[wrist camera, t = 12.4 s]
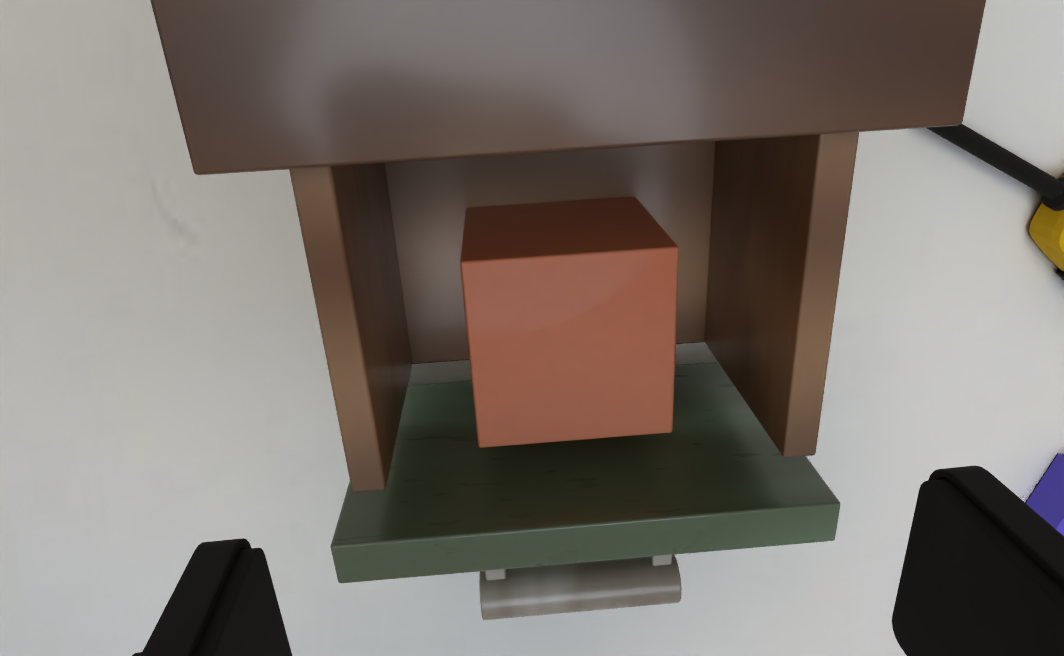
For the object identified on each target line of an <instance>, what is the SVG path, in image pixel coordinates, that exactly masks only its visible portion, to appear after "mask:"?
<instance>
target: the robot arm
mask: <svg viewBox="0 0 1064 656" xmlns="http://www.w3.org/2000/svg"><path fill="white" fill-rule="evenodd" d="M892 626H893V631H894V634H895V637H896V639H897V641H898V643H899V645H900V647H901V648H902V649H903V651H904V652H905V654H906V655H907V656H1064V536H1063V535H1062V534H1061V533H1059V532H1058V531H1057V530H1056V529H1055V528H1054V527H1052V526H1051V525H1050V524H1049V523H1048V522H1047V521H1045V520H1044V519H1043V518H1042V517H1041V516H1040V515H1038V514H1037V513H1036V512H1035V511H1034V510H1033V509H1031V508H1030V507H1029V506H1028V505H1027V504H1026V503H1024V502H1023V501H1022V500H1021V499H1020V498H1019V497H1018V496H1016V495H1015V494H1014V493H1013V492H1012V491H1011V490H1009V489H1008V488H1007V487H1006V486H1005V485H1004V484H1002V483H1001V482H1000V481H999V480H998V479H997V478H995V477H994V476H993V475H992V474H991V473H990V472H988V471H987V470H985V469H984V468H982V467H979V466H967V467H957V468H947V469H939V470H935V471H934V472H933V473H932V474H931V475H930V478H929V480H928V481H925V482H923V484H922V485H921V487H920V489H919V494H918V498H917V503H916V508H915V513H914V517H913V522H912V527H911V531H910V536H909V541H908V545H907V550H906V555H905V559H904V564H903V569H902V574H901V578H900V583H899V588H898V592H897V597H896V602H895V606H894V611H893V616H892ZM132 656H292V653H291V650H290V646H289V642H288V638H287V635H286V631H285V627H284V624H283V620H282V616H281V613H280V609H279V605H278V601H277V598H276V594H275V590H274V587H273V583H272V579H271V576H270V572H269V568H268V564H267V561H266V557H265V554H264V551H263V550H262V549H261V548H253V549H252V548H251V546H250V543H249V542H248V541H247V540H246V539H233V540H223V541H213V542H203V543H201V544H200V545H198V547H197V548H196V550H195V551H194V553H193V555H192V557H191V559H190V561H189V563H188V565H187V567H186V569H185V571H184V572H183V574H182V576H181V578H180V580H179V582H178V584H177V586H176V588H175V590H174V592H173V594H172V596H171V598H170V600H169V602H168V604H167V605H166V607H165V609H164V611H163V613H162V615H161V617H160V619H159V621H158V623H157V625H156V627H155V629H154V631H153V633H152V635H151V637H150V638H149V640H148V642H147V644H146V646H145V648H144V650H143V652H140V653H135V654H134V655H132Z"/></svg>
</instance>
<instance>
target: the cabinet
mask: <svg viewBox="0 0 1064 656" xmlns="http://www.w3.org/2000/svg"><path fill="white" fill-rule="evenodd" d="M985 2H986V0H151V4H152V8H153V12H154V16H155V20H156V23H157V27H158V31H159V35H160V39H161V43H162V47H163V51H164V55H165V59H166V63H167V67H168V71H169V75H170V79H171V83H172V87H173V91H174V95H175V99H176V103H177V107H178V111H179V115H180V119H181V123H182V127H183V131H184V135H185V139H186V143H187V147H188V150H189V154H190V158H191V162H192V166H193V170H194V173H195V174H197V175H208V174H224V173H239V172H254V171H269V170H285V169H300V168H315V167H330V166H346V165H361V164H376V163H391V162H407V161H422V160H437V159H453V158H468V157H483V156H498V155H514V154H529V153H544V152H559V151H575V150H590V149H605V148H620V147H636V146H651V145H666V144H682V143H697V142H712V141H727V140H743V139H758V138H773V137H788V136H804V135H819V134H834V133H849V132H865V131H880V130H895V129H911V128H926V127H941V126H956V125H959V124H961V123H962V121H963V116H964V111H965V105H966V100H967V95H968V90H969V85H970V80H971V75H972V69H973V64H974V59H975V54H976V49H977V44H978V38H979V33H980V28H981V23H982V18H983V13H984V7H985Z"/></svg>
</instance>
